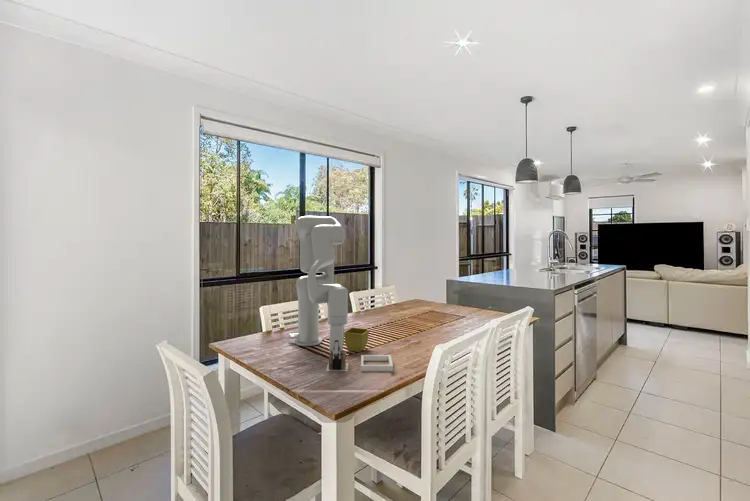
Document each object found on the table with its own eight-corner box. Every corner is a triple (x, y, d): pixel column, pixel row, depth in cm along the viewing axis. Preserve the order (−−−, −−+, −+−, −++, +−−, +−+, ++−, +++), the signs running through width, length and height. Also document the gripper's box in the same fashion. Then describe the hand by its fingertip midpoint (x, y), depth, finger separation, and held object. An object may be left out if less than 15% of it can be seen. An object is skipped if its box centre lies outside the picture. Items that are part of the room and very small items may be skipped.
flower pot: (369, 348, 163) (369, 329, 163) (362, 355, 155) (362, 334, 154) (351, 346, 166) (351, 327, 166) (343, 352, 158) (343, 332, 157)
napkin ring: (328, 369, 136) (328, 356, 136) (330, 364, 142) (330, 351, 142) (344, 369, 136) (344, 356, 136) (345, 364, 142) (345, 351, 142)
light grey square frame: (360, 372, 136) (360, 365, 135) (361, 361, 148) (361, 355, 147) (392, 372, 136) (393, 365, 136) (390, 361, 148) (390, 355, 148)
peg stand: (325, 372, 135) (325, 352, 135) (327, 364, 143) (328, 346, 143) (347, 372, 135) (347, 352, 135) (348, 364, 143) (348, 346, 143)
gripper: (329, 314, 147) (329, 358, 148) (325, 325, 130) (325, 374, 130) (348, 314, 147) (348, 358, 148) (346, 325, 130) (346, 374, 131)
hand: (337, 365), depth 139 cm, fingers closed on napkin ring, 5 cm apart
